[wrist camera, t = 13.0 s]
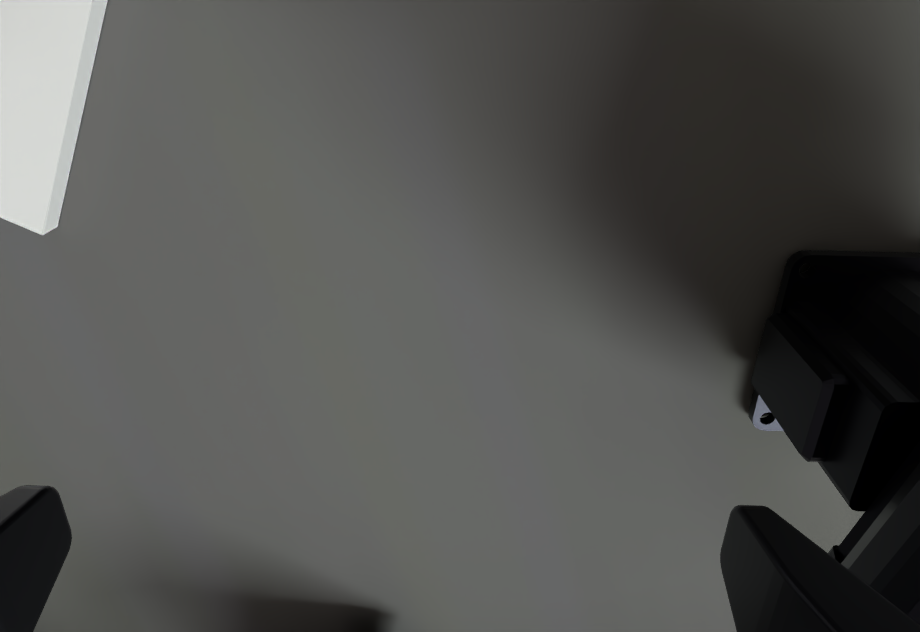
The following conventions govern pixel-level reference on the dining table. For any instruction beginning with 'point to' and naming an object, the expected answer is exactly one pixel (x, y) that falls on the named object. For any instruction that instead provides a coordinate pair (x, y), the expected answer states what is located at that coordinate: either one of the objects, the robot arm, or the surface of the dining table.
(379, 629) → the dining table surface
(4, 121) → the peg board
